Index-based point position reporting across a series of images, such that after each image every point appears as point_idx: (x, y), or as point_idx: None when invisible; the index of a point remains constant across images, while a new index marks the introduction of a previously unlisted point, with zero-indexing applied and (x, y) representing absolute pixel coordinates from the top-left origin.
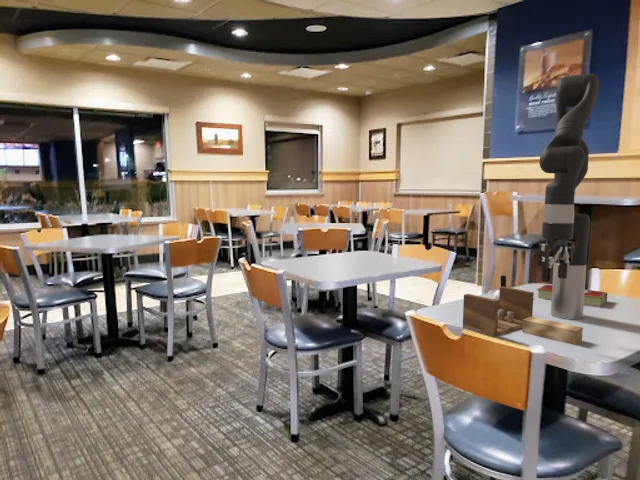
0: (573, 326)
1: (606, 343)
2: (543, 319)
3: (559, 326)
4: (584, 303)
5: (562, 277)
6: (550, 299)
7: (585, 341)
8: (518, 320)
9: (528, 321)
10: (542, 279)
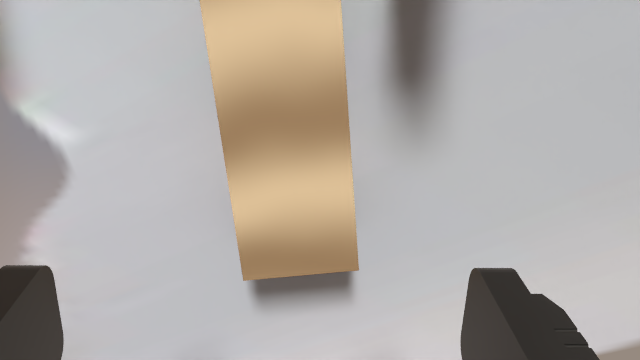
0: (333, 231)
1: (405, 312)
2: (334, 32)
3: (255, 183)
4: None
5: (468, 325)
6: None
7: None
8: None
9: None
10: (3, 280)
